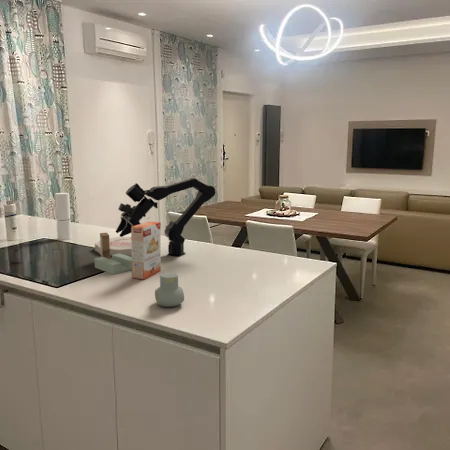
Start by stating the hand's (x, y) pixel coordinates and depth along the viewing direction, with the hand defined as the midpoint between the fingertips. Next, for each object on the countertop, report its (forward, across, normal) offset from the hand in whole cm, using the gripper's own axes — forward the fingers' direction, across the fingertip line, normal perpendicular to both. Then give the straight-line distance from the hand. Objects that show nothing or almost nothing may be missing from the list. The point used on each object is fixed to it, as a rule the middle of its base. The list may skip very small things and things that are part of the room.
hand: (118, 234), depth 204 cm
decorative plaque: (+3, -20, +14) cm, 25 cm away
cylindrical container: (+22, -57, -5) cm, 61 cm away
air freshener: (+5, +63, +12) cm, 65 cm away
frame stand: (+11, +13, +6) cm, 18 cm away
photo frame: (+13, 0, +4) cm, 13 cm away
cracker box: (+4, +27, +13) cm, 30 cm away
